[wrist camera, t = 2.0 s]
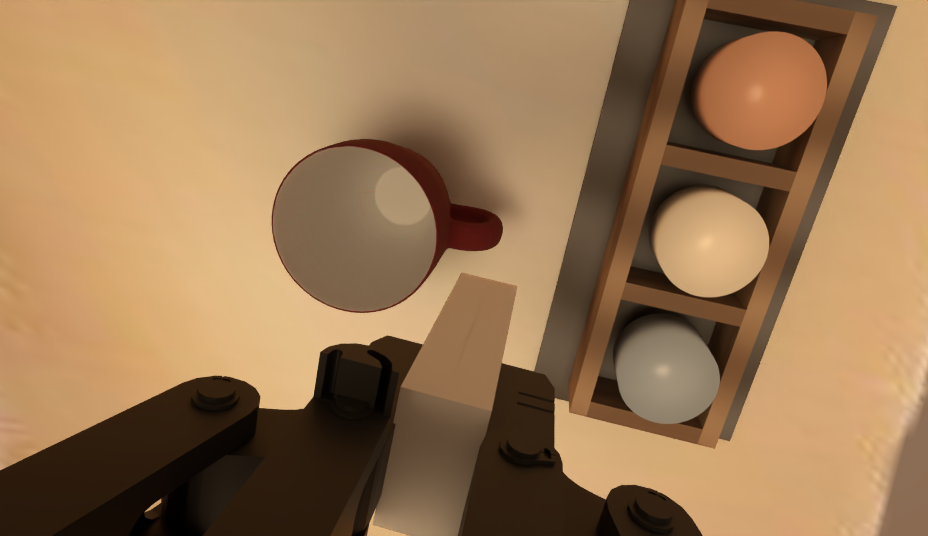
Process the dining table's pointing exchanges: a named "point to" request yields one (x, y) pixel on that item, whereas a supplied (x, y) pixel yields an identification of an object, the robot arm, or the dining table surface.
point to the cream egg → (708, 241)
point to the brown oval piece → (759, 90)
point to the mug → (370, 224)
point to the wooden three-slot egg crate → (684, 165)
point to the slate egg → (665, 369)
